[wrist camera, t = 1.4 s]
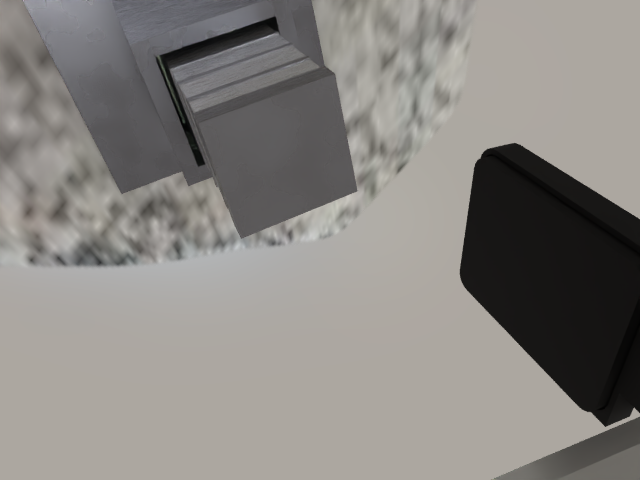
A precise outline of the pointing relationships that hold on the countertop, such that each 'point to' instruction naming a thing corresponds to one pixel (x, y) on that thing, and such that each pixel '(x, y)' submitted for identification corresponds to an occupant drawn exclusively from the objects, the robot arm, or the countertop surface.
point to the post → (262, 124)
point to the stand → (149, 70)
